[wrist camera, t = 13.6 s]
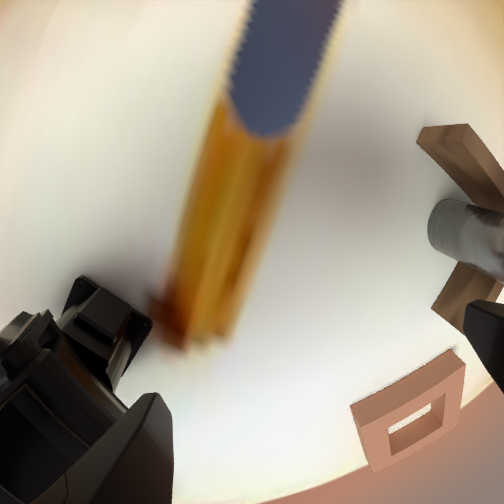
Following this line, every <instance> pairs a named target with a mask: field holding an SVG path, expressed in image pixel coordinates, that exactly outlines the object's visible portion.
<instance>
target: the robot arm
mask: <svg viewBox="0 0 504 504" xmlns="http://www.w3.org/2000/svg"><path fill="white" fill-rule="evenodd" d="M80 281H82V282H83V284H84V285H81V284H80ZM143 323H146V324H147V325H148V326H147V327H146V326H144V325H143ZM152 326H153V323H152V321H151V320H150V319H149V318H147V317H146V316H144V315H142V314H141V313H139V312H138V311H136V310H134V309H133V308H131V306H130V305H129V304H127V303H126V302H124V301H122V300H121V299H119V298H118V297H116V296H115V295H113V294H112V293H110V292H109V291H107V290H106V289H104V288H103V287H99V286H98V285H96V284H95V283H93V282H92V281H91V280H89V279H88V278H86V277H85V276H79V277H78V278H77V279H76V280H75V282H74V284H73V287H72V289H71V292H70V294H69V297H68V299H67V302H66V304H65V307H64V310H63V312H62V315H61V317H60V318H59V320H58V321H57V322H56V323H55V321H54V320H53V315H52V314H51V312H50V311H49V310H48V309H47V310H46V311H44V312H43V313H41V314H40V313H39V312H38V313H37V314H35V315H34V314H33V315H31V314H29V313H27V312H25V311H23V312H21V313H20V314H19V315H18V316H16V317H15V318H14V319H13V320H12V321H11V322H10V323H9V324H8V325H7V326H6V327H5V328H4V329H3V330H2V331H1V332H0V504H172V488H173V473H174V453H173V425H172V415H171V412H170V410H169V409H168V407H167V405H166V404H165V402H164V400H163V399H162V397H161V395H160V394H159V393H156V392H154V393H146V394H143V395H142V396H141V397H140V398H139V399H138V400H137V401H136V402H135V403H134V404H133V405H132V406H131V407H130V408H129V409H128V408H127V407H126V406H125V405H124V404H123V403H122V402H121V401H120V400H119V399H118V397H117V396H116V395H115V394H114V393H115V390H116V388H117V385H118V383H119V380H120V378H121V377H122V376H123V374H124V373H125V371H126V370H127V368H128V366H129V365H130V363H131V361H132V360H133V358H134V356H135V355H136V353H137V351H138V350H139V348H140V347H141V345H142V343H143V342H144V340H145V339H146V337H147V335H148V334H149V332H150V331H151V328H152ZM463 332H464V334H465V336H466V338H467V339H468V341H469V342H470V344H471V345H472V347H473V349H474V350H475V352H476V353H477V355H478V357H479V358H480V360H481V362H482V363H483V365H484V367H485V368H486V370H487V371H488V373H489V374H490V375H491V377H492V378H493V380H494V381H495V382H496V384H497V385H498V387H499V388H500V389H501V391H502V392H503V394H504V304H501V303H495V302H490V301H485V300H479V299H476V300H473V301H471V302H469V303H468V304H467V305H466V307H465V313H464V320H463Z"/></svg>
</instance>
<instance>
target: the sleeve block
mask: <svg viewBox="0 0 504 504" xmlns="http://www.w3.org/2000/svg"><path fill="white" fill-rule="evenodd" d="M465 367H466V364H465V363H464V362H463V361H462V360H461V359H460V358H459V357H458V356H457V355H456V354H455V353H453V352H452V351H451V350H450V349H449V350H447V351H446V352H444V353H443V354H441V355H440V356H438V357H437V358H435V359H434V360H432V361H431V362H429V363H428V364H426V365H424V366H423V367H421V368H420V369H418V370H416V371H415V372H413V373H411V374H410V375H408V376H406V377H405V378H403V379H401V380H399V381H398V382H396V383H394V384H392V385H390V386H389V387H387V388H385V389H383V390H381V391H379V392H377V393H375V394H374V395H372V396H370V397H368V398H366V399H364V400H362V401H360V402H357V403H355V404H353V405H351V406H350V409H351V412H352V415H353V418H354V421H355V424H356V428H357V431H358V434H359V437H360V441H361V444H362V447H363V450H364V454H365V457H366V459H367V461H368V463H369V465H370V467H371V470H372V472H373V473H375V472H377V471H379V470H381V469H383V468H385V467H387V466H389V465H391V464H393V463H395V462H397V461H399V460H401V459H403V458H404V457H406V456H408V455H410V454H411V453H413V452H415V451H417V450H419V449H420V448H422V447H423V446H425V445H427V444H428V443H430V442H432V441H433V440H435V439H436V438H438V437H439V436H441V435H443V434H444V433H445V432H447V431H448V430H450V429H451V428H453V427H454V426H455V425H457V422H458V416H459V411H460V405H461V399H462V392H463V385H464V376H465ZM429 403H431V411H430V412H428V413H427V414H425V415H424V416H422V417H420V418H419V419H417V420H415V421H414V422H412V423H410V424H408V425H407V426H405V427H403V428H401V429H400V430H398V431H396V432H394V433H392V434H390V435H389V436H388V429H387V428H388V427H390V426H392V425H394V424H396V423H397V422H399V421H401V420H403V419H405V418H406V417H408V416H410V415H411V414H413V413H415V412H417V411H418V410H420V409H421V408H423V407H425V406H426V405H428V404H429Z"/></svg>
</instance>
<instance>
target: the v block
mask: <svg viewBox="0 0 504 504" xmlns="http://www.w3.org/2000/svg"><path fill="white" fill-rule="evenodd" d="M416 143H417V144H418V145H419V146H420V147H421V148H422V149H423V150H425V151H426V152H427V153H428V154H429V155H430V156H431V157H432V158H433V159H434V160H435V161H436V162H437V163H438V164H439V165H440V166H441V167H442V168H443V169H444V170H445V171H446V172H447V173H448V175H449V176H450V177H451V178H452V179H453V180H454V181H455V182H456V183H457V184H458V185H459V186H460V188H461V189H462V190H463V191H464V192H465V193H466V194H467V195H468V197H469V198H470V199H471V200H472V201H473V203H474V204H475V205H476V206H479V207H483V208H487V209H490V210H494V211H498V212H501V213H504V171H503V169H502V168H501V166H500V165H499V163H498V162H497V161H496V159H495V158H494V156H493V155H492V154H491V152H490V151H489V150H488V148H487V147H486V146H485V144H484V143H483V142H482V140H481V139H480V138H479V137H478V135H477V134H476V133H475V132H474V130H473V129H472V128H471V127H470V126H469V124H455V125H443V126H433V127H424V128H423V129H422V132H421V134H420V136H419V138H418V140H417V142H416ZM503 287H504V284H502V283H500V282H499V281H497V280H495V279H493V278H491V277H489V276H487V275H485V274H483V273H482V272H480V271H478V270H476V269H474V268H472V267H470V266H468V265H466V264H464V263H462V262H460V261H459V262H458V264H457V266H456V267H455V269H454V271H453V273H452V275H451V276H450V278H449V280H448V282H447V283H446V285H445V287H444V288H443V290H442V292H441V293H440V295H439V297H438V298H437V300H436V301H435V303H434V305H433V306H432V308H431V309H432V310H433V311H435V312H436V313H437V314H438V315H440V316H441V317H442V318H444V319H445V320H446V321H447V322H449V323H450V324H451V325H452V326H454V327H455V328H456V329H457V330H459V331H460V332H461V333H462V334H463V335H465V334H464V332H463V320H464V313H465V307H466V305H467V304H468V303H469V302H471V301H473V300H476V299H479V300H485V301H490V302H496V300H497V298H498V296H499V294H500V292H501V291H502V289H503Z"/></svg>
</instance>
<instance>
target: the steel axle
mask: <svg viewBox="0 0 504 504" xmlns="http://www.w3.org/2000/svg"><path fill="white" fill-rule="evenodd" d="M428 238H429V241H430V243H431V245H432V247H433V248H434V249H435V250H437V251H439V252H441V253H443V254H445V255H447V256H450V257H452V258H454V259H456V260H458V261H460V262H462V263H464V264H466V265H468V266H470V267H472V268H474V269H476V270H478V271H480V272H482V273H483V274H485V275H487V276H489V277H491V278H493V279H495V280H497V281H499V282H500V283H502V284H504V213H501V212H498V211H494V210H490V209H487V208H483V207H479V206H475V205H471V204H467V203H463V202H459V201H454V200H450V199H446V200H443V201H441V202H439V203H438V204H437V205H436V206H435V208H434V209H433V211H432V213H431V215H430V218H429V222H428Z"/></svg>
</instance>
